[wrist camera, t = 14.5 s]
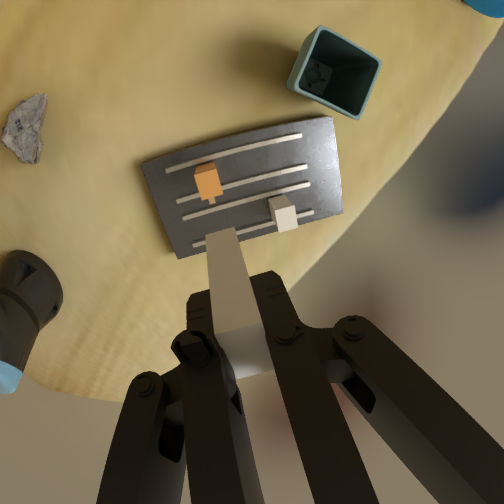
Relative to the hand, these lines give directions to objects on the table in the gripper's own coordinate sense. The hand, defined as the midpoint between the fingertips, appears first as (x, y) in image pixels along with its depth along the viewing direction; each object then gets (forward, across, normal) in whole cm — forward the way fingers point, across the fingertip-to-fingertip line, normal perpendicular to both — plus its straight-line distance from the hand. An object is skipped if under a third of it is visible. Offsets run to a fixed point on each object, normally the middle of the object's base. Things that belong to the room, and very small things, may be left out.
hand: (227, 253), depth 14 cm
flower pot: (+25, +16, +8) cm, 31 cm away
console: (+25, +4, -5) cm, 26 cm away
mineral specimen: (+26, -23, +14) cm, 37 cm away
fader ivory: (+23, +7, -9) cm, 26 cm away
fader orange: (+23, -1, -2) cm, 23 cm away
